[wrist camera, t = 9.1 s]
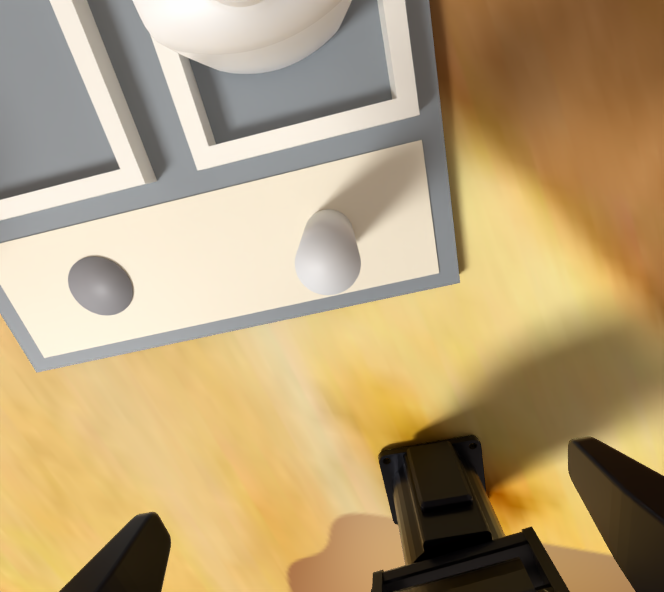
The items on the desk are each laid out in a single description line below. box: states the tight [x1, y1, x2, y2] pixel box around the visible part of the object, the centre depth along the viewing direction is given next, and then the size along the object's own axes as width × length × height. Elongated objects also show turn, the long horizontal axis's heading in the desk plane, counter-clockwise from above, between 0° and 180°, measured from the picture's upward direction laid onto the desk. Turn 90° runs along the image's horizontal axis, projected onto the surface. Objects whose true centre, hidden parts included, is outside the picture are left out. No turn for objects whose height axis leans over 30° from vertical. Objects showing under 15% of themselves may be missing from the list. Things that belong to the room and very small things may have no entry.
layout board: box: [0, 0, 460, 372], centre depth 15 cm, size 18×24×6 cm
